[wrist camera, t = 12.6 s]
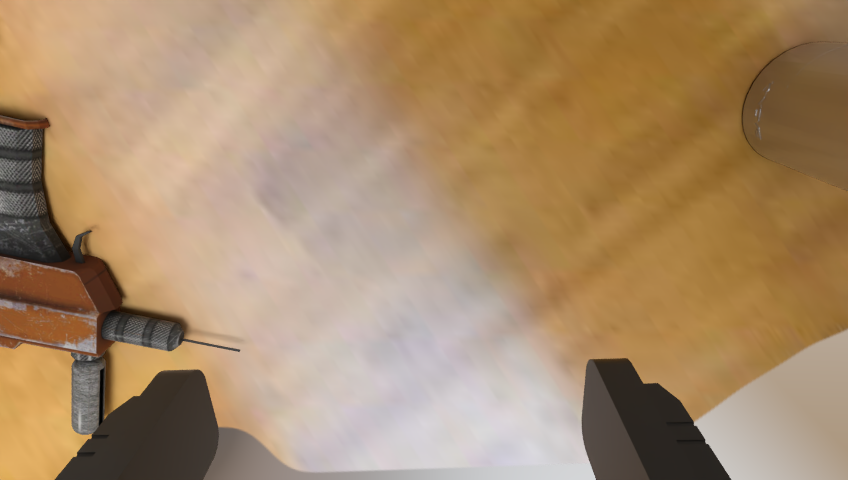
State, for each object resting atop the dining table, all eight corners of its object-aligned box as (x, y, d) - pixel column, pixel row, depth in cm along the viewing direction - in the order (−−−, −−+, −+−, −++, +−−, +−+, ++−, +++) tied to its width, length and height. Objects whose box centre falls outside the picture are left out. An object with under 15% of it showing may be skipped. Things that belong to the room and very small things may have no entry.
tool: (-114, 92, 38) (-75, 420, 48) (256, 175, 40) (218, 471, 50) (-65, 88, 41) (-39, 392, 51) (270, 164, 44) (233, 441, 54)
